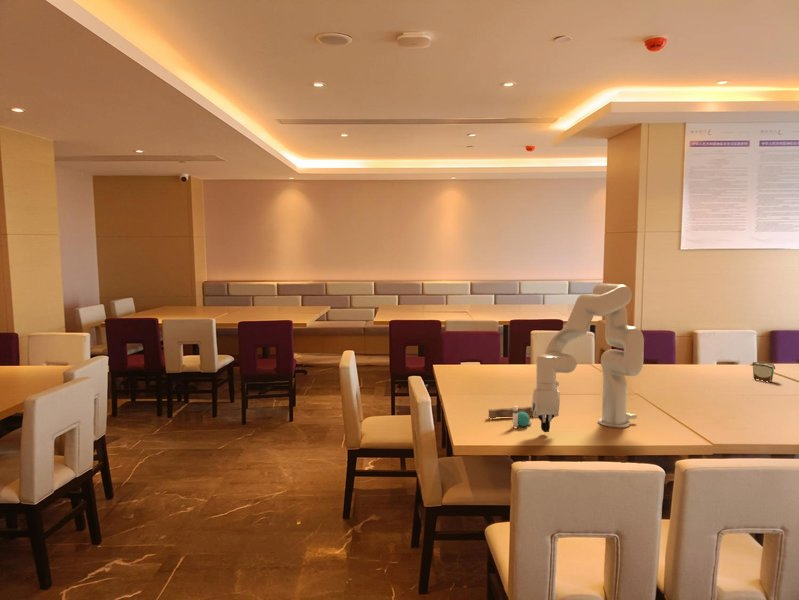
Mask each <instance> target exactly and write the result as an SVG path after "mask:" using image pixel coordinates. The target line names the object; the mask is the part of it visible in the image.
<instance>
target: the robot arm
mask: <svg viewBox="0 0 799 600" xmlns="http://www.w3.org/2000/svg"><path fill="white" fill-rule="evenodd" d="M632 297H633V293H632V290H631V288H630V287H629V286H627V285H625V284H616V283H598V284H596V285H595V286H593V288H592V293H590V294H589V293H584V294H581V295H579V296H578V297H577V299H576V300H575V303H574V304H573V308H572V310H571V313H570V315H569V317H568V319H567V322H566V323H565V325H564V327H563V328H562V329H561V330H559V331H558V332H557V333H556V334H555V335H554V336H553V337H552V338H551V339H550V341H549V343H548V344H547V347H546V350H545V352H544V354H543V353H542V354H539V355H538V356H536V373H535V374H536V380H535V381H536V382H535V383H536V384H535V385H536V387H535V388H534V389H533V393H532V399H531V407H532V412H533V418H535V419H539V421H540V428H541V431H543V432H544V433H549V432H550V427H551V422H552V420H553V419H554V418H556V417H558V416H559V415H560V414H559V412H560V406H559V397H558V391H559V390H558V389H556V386H557V387H558V386H559V385H560V382H558V381H557V374H558V373H559V374H570V373H573V372H574V371H575V370H576V368H577V365H578V363H577V358H575V357H574V356H572V354H571V355H570V354H567V353H564V352H563V350H564V348H565V347H566V346H567V345H568V344H569V343H570V342H573V341H574V340H578V339H579V338H582V337H585V336H586V335H587V333H588V330H589V327H590V326H591V323H592V320H593V318H594V316H595V317H605V329H604V330H605V331H604V332H605V336H604V337H605V342H606V344H607V345H609V346H611V347H615V348H619V349H623V350H619V349H611V348H610V349H607V350H605V351H604V352H603V353H602V354H601V356H600V357H601V358H600V366H601V371H602V406H601V407H602V408H601V414H602V415H601V417H600V418H597V419H598V420H597V422H598V424H600V425H602V426H604V427H610V428H616V429H617V428H618V429H619V428H620V429H621V428H622V429H623V428H628V427H630V426H631V421H630V420H636V419H637V418H638V416H637V414H636V413H633V414H632V413H630V412H628V413H627V406H628V405H627V403H628V401H627V400H628V399H627V397H628V393H627V392H628V382H627V381H628V380H627V377H637V376H639V375H640V374H641V372H642V370H643V368H644V356H645V355H644V351H645V350H644V349H645V347H644V346H645V338H644V334H643V332H642V331H641V329H640V328H639V327H636V326H632V325H628V311H627V310H628V309H627V308H626V306H627V305H628V304H629V303H630V302H631V300H632ZM626 376H627V377H626ZM556 381H557V382H556ZM557 390H558V391H557Z"/></svg>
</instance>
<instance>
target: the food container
mask: <svg viewBox="0 0 799 600" xmlns="http://www.w3.org/2000/svg"><path fill="white" fill-rule="evenodd" d="M751 366H752V372H753V373H752V375H753V376H752V377H753V378H754V379H759V380H763V381H768V382H772V383H773V378H774V377H773V376H774V370H776V365H775V364H773V363H770V362H763V361H752V363H751ZM754 379H753V380H754Z"/></svg>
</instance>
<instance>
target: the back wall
mask: <svg viewBox="0 0 799 600" xmlns="http://www.w3.org/2000/svg"><path fill="white" fill-rule="evenodd" d="M519 412H525V413H527V414H528V416H533V412H532V406H523V407H522V406H521V407H520V406H518V413H519ZM489 417H490V418H496V417H513V407H507V408H505V407H504V408H492V409H491V408H490V409H488V418H489Z"/></svg>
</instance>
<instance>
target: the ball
mask: <svg viewBox="0 0 799 600" xmlns="http://www.w3.org/2000/svg"><path fill="white" fill-rule="evenodd" d="M529 420H530V417H529V416H528V414H527V413H525V412H519V413H518V427H526V426H527V425H528V423H529Z"/></svg>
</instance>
